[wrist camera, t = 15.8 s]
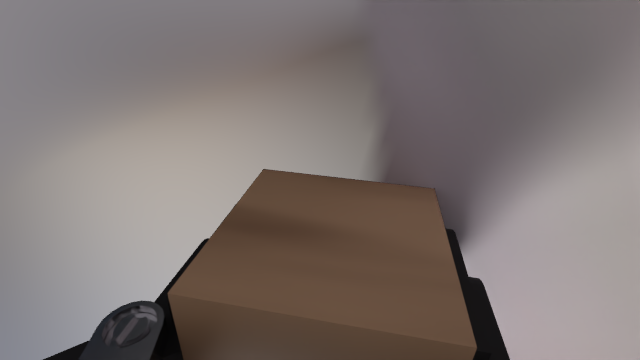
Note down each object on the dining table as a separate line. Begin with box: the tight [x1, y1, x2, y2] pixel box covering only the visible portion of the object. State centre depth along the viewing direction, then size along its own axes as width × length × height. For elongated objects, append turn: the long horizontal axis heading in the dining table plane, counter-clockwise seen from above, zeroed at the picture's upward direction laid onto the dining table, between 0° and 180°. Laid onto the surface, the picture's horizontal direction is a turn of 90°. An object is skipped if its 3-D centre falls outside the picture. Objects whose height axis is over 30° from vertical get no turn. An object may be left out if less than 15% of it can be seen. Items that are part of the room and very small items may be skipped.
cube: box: [167, 169, 477, 360], centre depth 9 cm, size 5×5×5 cm
